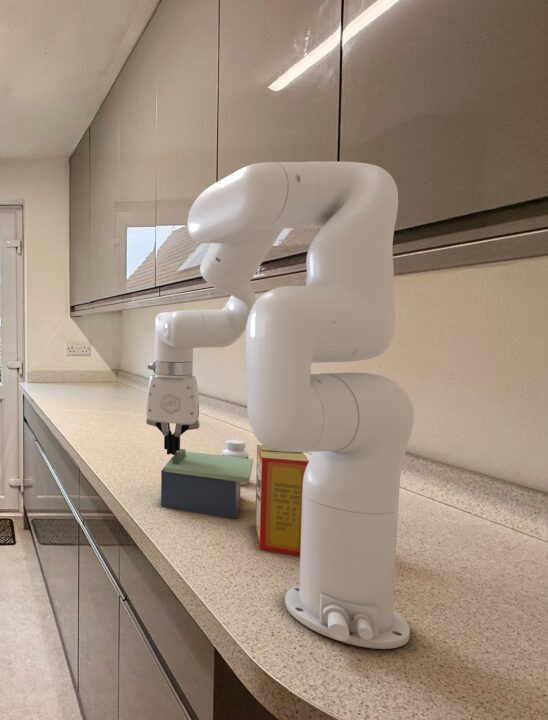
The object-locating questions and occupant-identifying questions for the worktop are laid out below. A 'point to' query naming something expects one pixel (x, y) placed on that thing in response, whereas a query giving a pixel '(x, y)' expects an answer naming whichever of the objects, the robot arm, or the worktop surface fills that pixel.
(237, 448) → the pill bottle
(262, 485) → the baking soda box
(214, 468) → the bin lid
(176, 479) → the storage bin
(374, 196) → the robot arm
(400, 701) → the worktop surface
